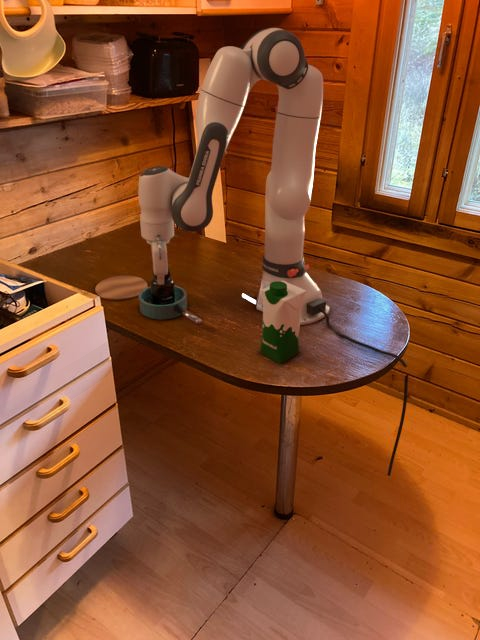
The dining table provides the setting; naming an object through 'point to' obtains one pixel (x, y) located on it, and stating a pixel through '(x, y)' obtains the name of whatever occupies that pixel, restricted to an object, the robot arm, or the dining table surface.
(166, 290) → the supplement bottle
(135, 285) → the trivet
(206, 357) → the dining table surface
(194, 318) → the pan handle
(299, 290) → the milk carton
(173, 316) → the pan
